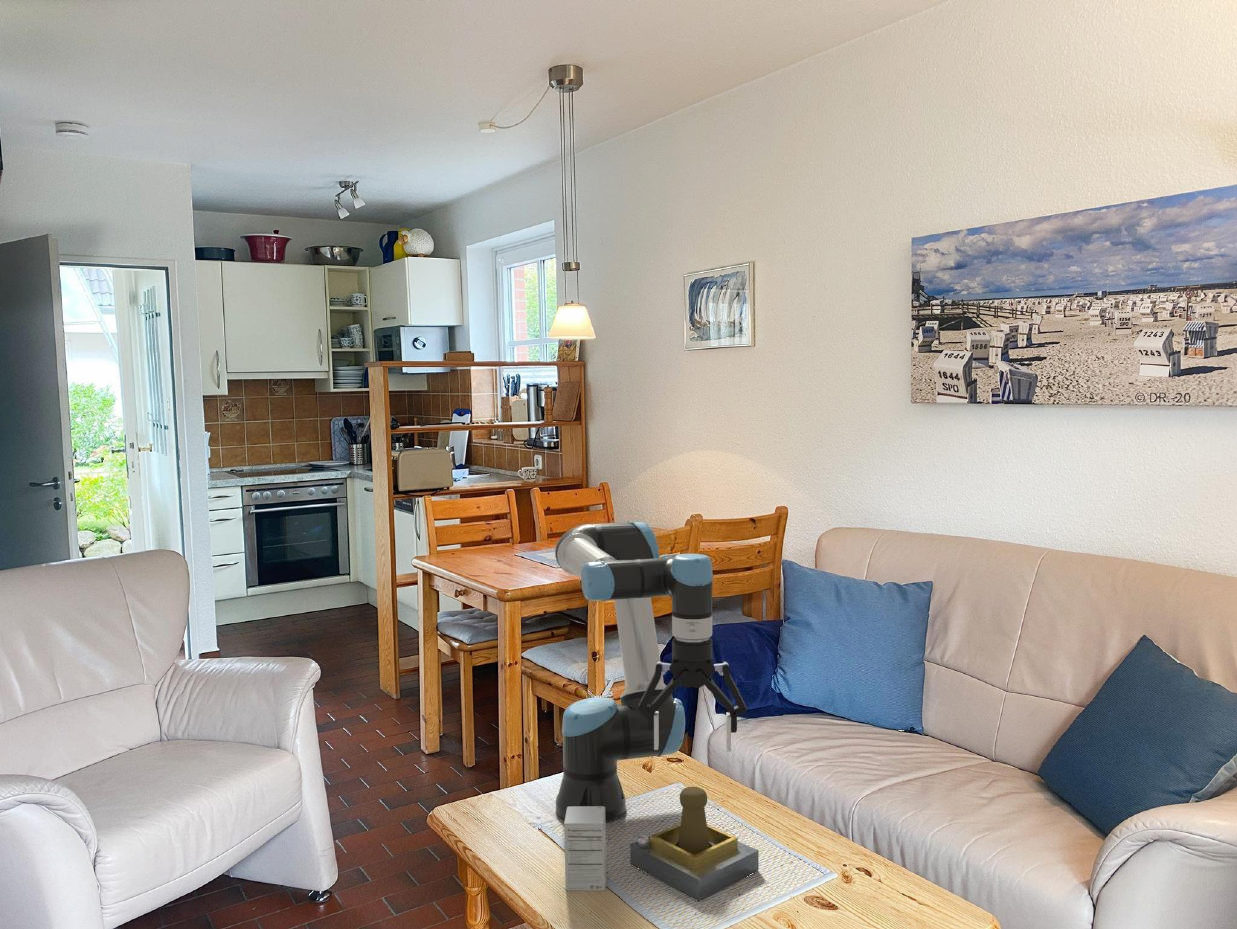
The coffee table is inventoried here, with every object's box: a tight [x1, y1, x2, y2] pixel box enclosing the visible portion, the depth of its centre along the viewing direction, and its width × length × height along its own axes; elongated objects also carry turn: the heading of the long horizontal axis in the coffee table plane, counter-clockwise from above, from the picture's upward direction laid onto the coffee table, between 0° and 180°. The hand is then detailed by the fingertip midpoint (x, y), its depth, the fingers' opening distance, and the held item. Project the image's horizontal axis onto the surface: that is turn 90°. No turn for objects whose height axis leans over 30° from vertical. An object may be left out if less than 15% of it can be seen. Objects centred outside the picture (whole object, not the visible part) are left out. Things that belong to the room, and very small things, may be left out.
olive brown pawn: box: [678, 786, 710, 854], centre depth 172 cm, size 6×6×11 cm
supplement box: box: [563, 806, 607, 892], centre depth 168 cm, size 7×7×13 cm
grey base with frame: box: [629, 822, 760, 903], centre depth 173 cm, size 18×16×6 cm
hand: (692, 748), depth 174 cm, fingers open, 13 cm apart
